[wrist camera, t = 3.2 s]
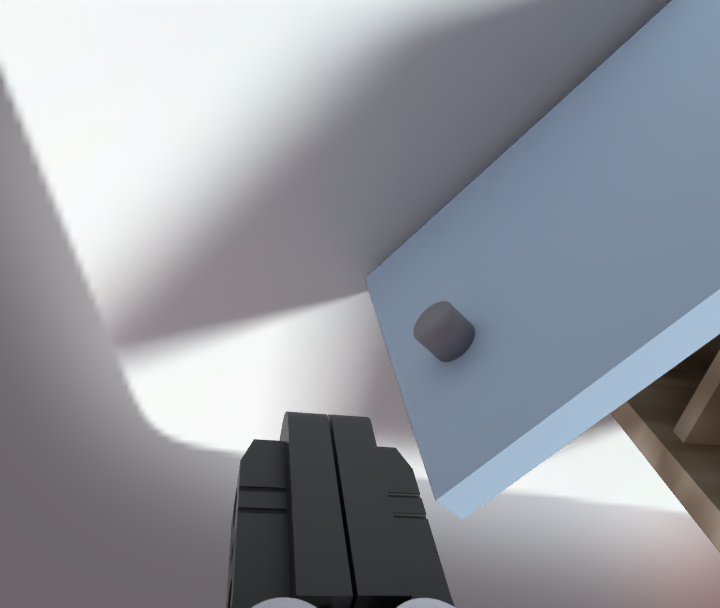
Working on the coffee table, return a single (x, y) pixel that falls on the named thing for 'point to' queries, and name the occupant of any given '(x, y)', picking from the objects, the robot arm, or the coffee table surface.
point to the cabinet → (683, 433)
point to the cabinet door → (564, 266)
